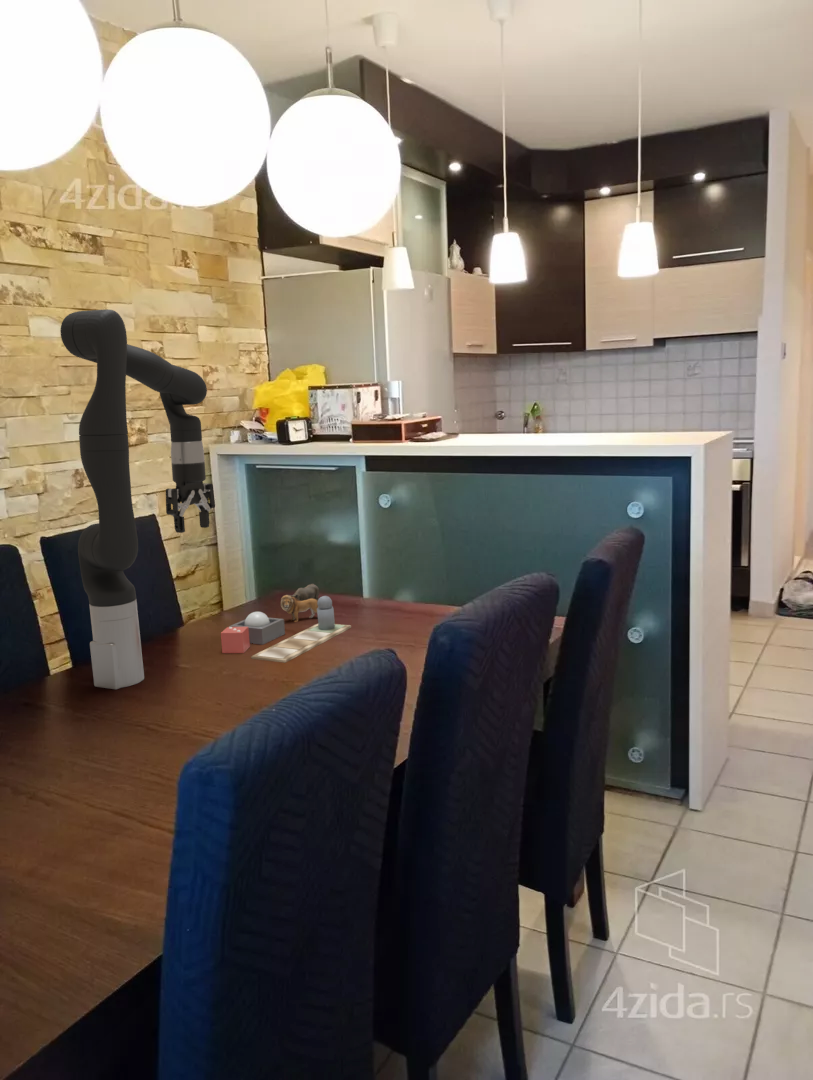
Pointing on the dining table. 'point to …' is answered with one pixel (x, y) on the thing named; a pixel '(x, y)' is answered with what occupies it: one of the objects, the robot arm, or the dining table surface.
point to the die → (235, 640)
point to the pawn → (325, 613)
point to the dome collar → (264, 631)
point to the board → (299, 643)
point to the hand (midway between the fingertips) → (192, 529)
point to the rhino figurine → (307, 593)
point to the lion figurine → (298, 606)
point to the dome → (257, 620)
